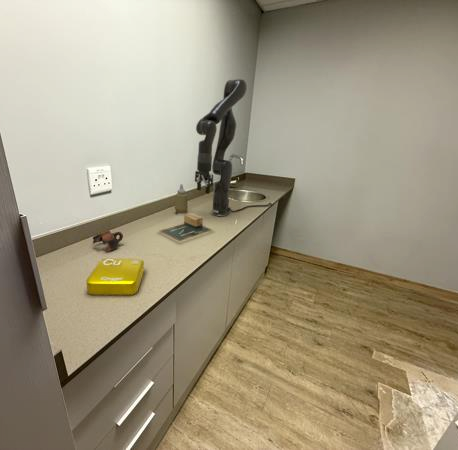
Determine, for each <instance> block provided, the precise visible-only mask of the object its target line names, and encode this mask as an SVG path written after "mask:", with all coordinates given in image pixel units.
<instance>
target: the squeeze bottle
mask: <svg viewBox="0 0 458 450" xmlns="http://www.w3.org/2000/svg"><path fill="white" fill-rule="evenodd" d="M174 202H175V203H174V210H175V213H176V214H177V215H179V214H185V213H187V212H188V208H189V207H188V195H187V194H186V190H185V189H184V185H183V184H182V183H181V184H180V185H179V189H177V193H175V201H174Z"/></svg>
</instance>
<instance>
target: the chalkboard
mask: <svg viewBox="0 0 458 450" xmlns="http://www.w3.org/2000/svg"><path fill="white" fill-rule="evenodd" d="M211 231H213V228H210V227H207V226H205V225H203V226H202V227H200V228H197V229H195V228H193V227H190V226H188V225H185V224H184V223H182V224H178V225H174V226H171V227H167V228H164V229H159V232H161V233H162V234H164V235H165V236H168V239H170V240H171V241H173V239H174V240H176V241H178V242H182V241H184V240H188V239H190V238H194V237H196V236H200V235H203V234H205V233H208V232H211ZM169 237H170V238H169ZM171 238H172V239H171Z"/></svg>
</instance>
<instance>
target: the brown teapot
mask: <svg viewBox="0 0 458 450" xmlns="http://www.w3.org/2000/svg"><path fill="white" fill-rule="evenodd" d="M118 236H119V237H118ZM117 237H118V238H117ZM92 239H93V241H92V244H93V245H95V244H96V243H100V242H102V243H103V244H107V245H106V246H105V247H103V249H104V250H105V252H106V253H109V252H111V251H113V250H116V249H118V245H119V243H120V242H122V240H123V239H124V234H123V233H122V232H121V231H116V232H111V230H108V229H107V230H105V231H103V232H101V233H99V234H96V235H94V236H92Z"/></svg>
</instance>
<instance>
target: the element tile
mask: <svg viewBox="0 0 458 450" xmlns="http://www.w3.org/2000/svg"><path fill="white" fill-rule="evenodd" d="M144 274H145V262H144V260H143V259H139V258H103V259H101V260H100V261H98V263H97V265H96V266H95V267H94V269H93V270H92V272H91V273H90V274H89V276H88V277H87V279H86V288H87V289H86V290H87V293H88V294H89V295H95V296H96V295H97V296H100V295H101V296H131V295H135V294H136V293H137V292H138V291H139V288H140V285H141V282H142V280H143V277H144Z"/></svg>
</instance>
